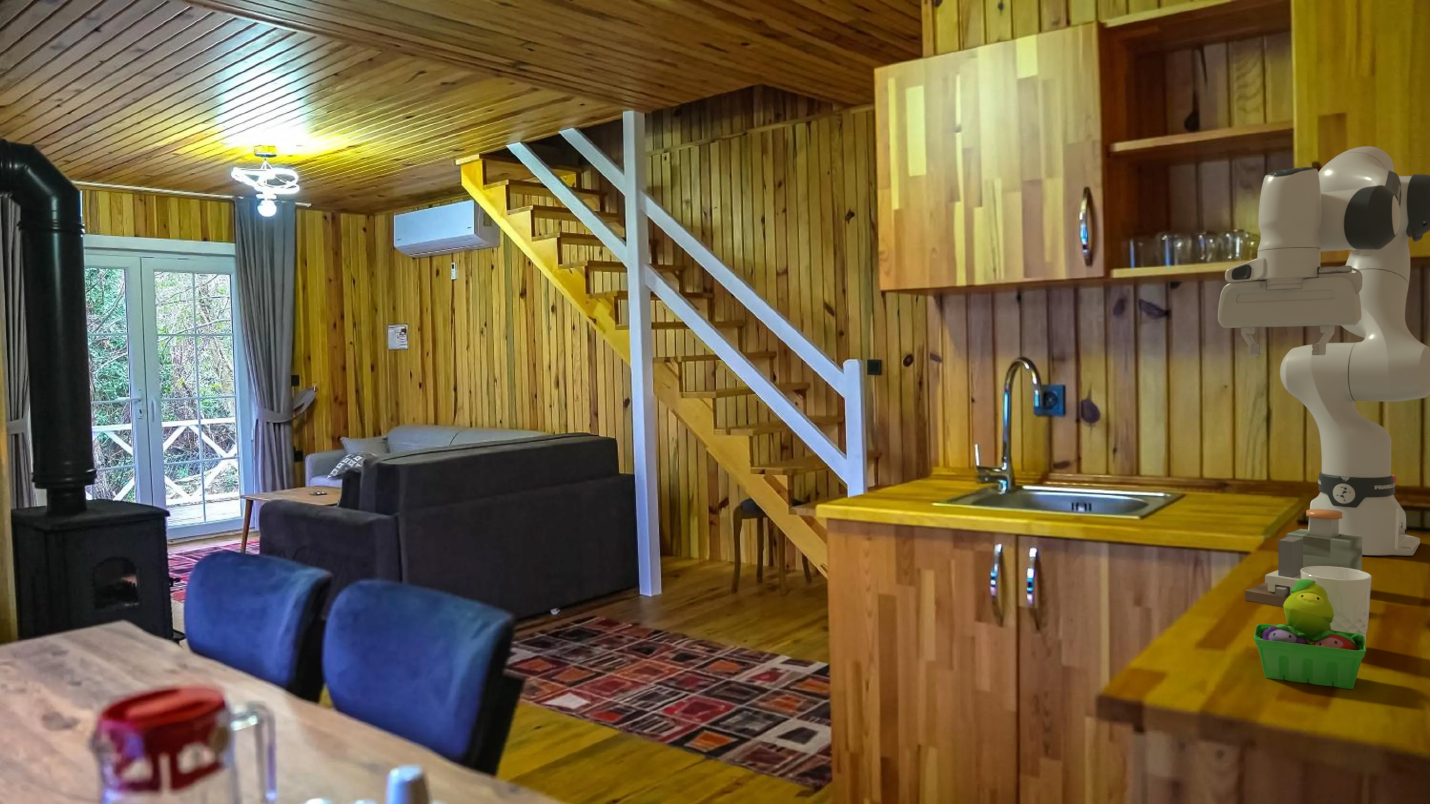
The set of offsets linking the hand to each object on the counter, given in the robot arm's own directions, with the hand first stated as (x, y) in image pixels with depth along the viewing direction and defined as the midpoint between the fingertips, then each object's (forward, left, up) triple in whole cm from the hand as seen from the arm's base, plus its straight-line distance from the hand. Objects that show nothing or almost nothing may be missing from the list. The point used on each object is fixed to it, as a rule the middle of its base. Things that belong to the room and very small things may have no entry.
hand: (1286, 355), depth 161 cm
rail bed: (+3, +5, -38) cm, 38 cm away
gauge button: (-4, +4, -29) cm, 30 cm away
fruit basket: (+43, +20, -38) cm, 61 cm away
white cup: (+29, +18, -38) cm, 51 cm away
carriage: (+9, +4, -36) cm, 37 cm away
